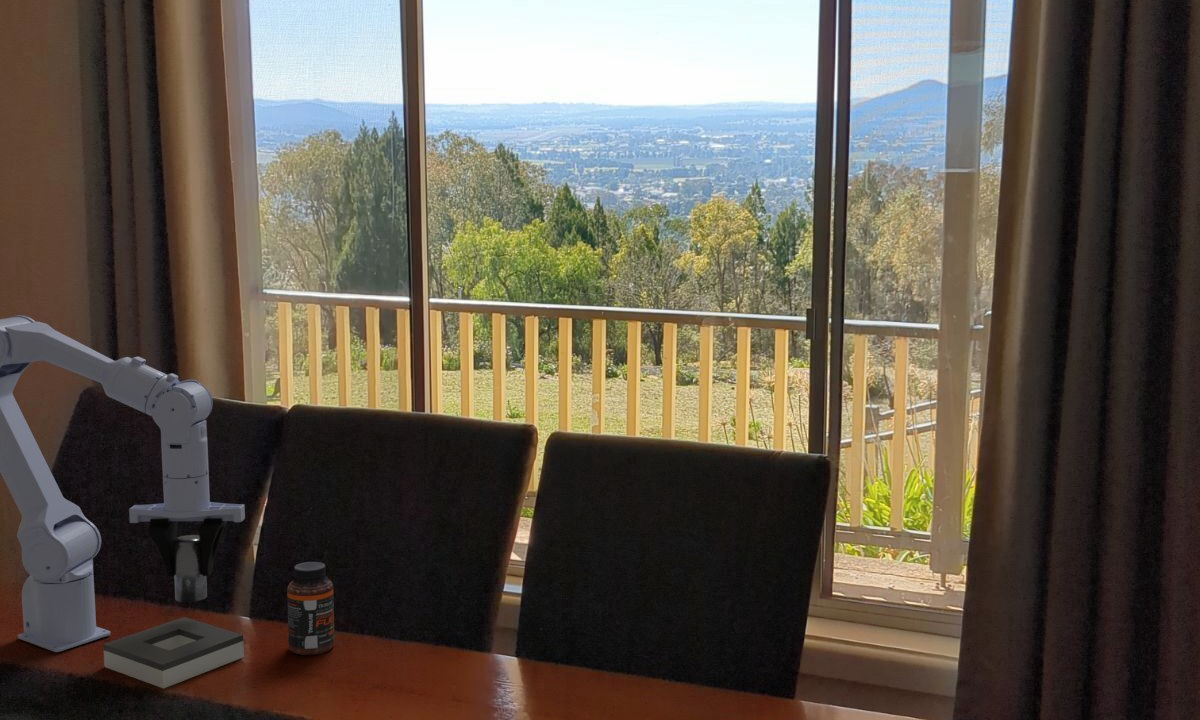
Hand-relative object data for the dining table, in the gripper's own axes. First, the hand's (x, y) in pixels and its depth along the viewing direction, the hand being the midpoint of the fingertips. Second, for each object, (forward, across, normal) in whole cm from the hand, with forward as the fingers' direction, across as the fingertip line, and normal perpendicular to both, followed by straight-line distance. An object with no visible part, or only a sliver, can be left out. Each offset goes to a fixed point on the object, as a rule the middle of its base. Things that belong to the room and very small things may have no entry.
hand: (190, 574), depth 153 cm
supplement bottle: (+10, -16, +3) cm, 19 cm away
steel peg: (+3, 0, 0) cm, 3 cm away
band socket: (+9, 0, +7) cm, 12 cm away
